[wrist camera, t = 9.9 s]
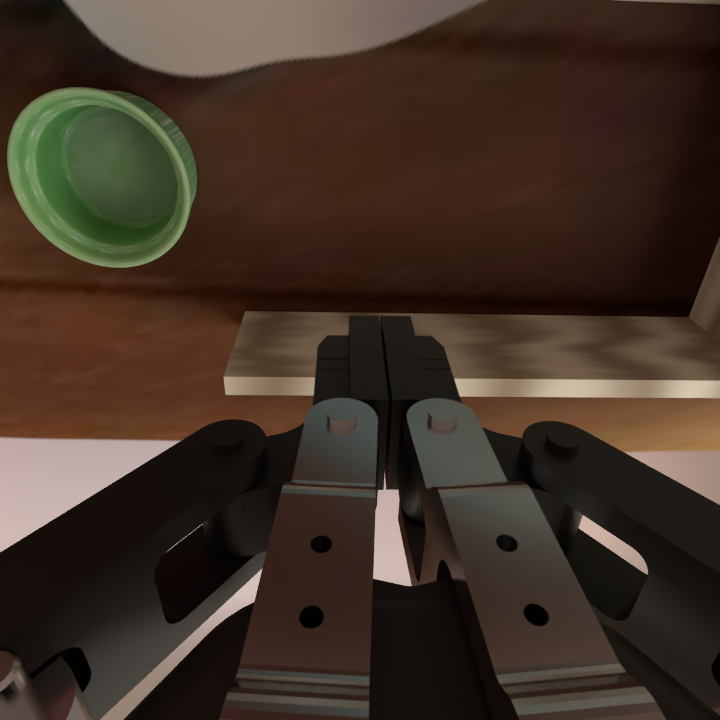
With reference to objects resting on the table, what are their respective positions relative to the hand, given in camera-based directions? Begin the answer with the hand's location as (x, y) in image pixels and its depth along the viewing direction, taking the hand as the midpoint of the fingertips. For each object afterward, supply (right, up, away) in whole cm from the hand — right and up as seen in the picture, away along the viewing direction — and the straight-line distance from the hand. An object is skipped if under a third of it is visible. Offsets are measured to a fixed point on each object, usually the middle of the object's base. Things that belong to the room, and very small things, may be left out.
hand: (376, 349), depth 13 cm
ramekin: (-14, +11, +18) cm, 25 cm away
